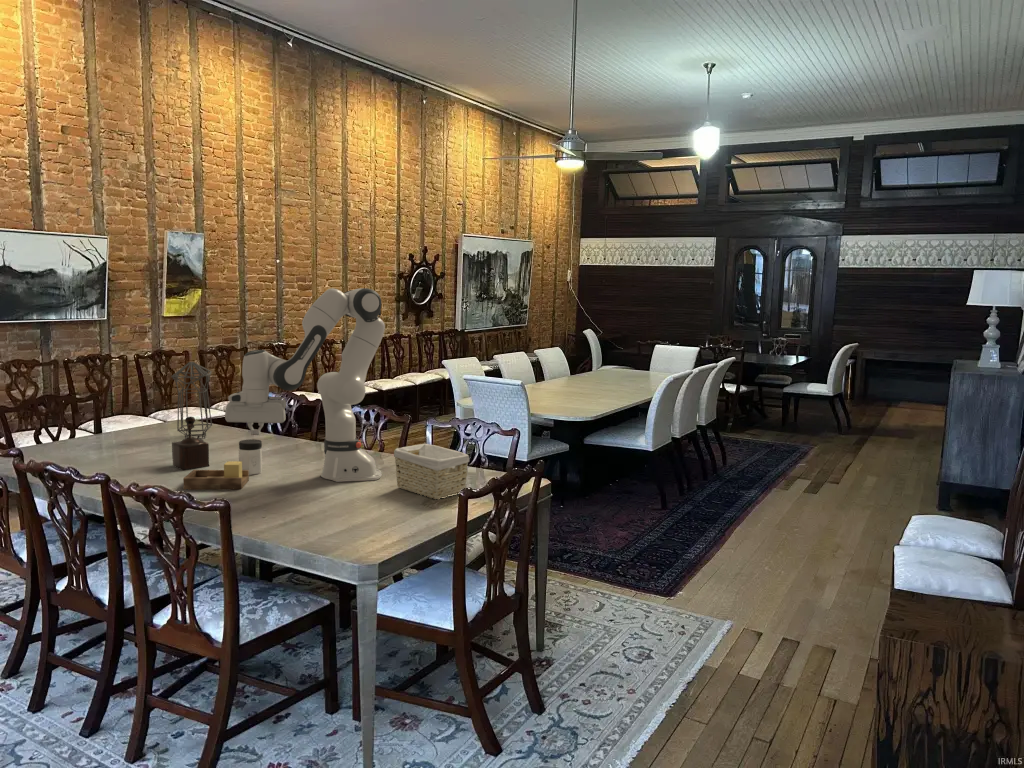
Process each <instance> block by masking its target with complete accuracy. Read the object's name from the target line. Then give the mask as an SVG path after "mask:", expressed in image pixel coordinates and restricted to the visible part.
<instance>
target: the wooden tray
mask: <svg viewBox="0 0 1024 768" xmlns="http://www.w3.org/2000/svg"><path fill="white" fill-rule="evenodd" d="M249 477H250V475H249V470H242V478H224V469H192V471H190V472H189V473H188V474H187V475H186V476H184V477H183V480H182V481H183V490H186V489H188V490H196V491H197V490H199V491H201V490H203V491H205V490H209V491H211V490H212V491H214V490H217V491H218V490H220V491H221V490H226V491H227V490H228V491H229V490H232V491H233V490H234V491H235V490H236V491H238V490H243V488H244V487H245V486H246V484H247V483H248V482H249V480H250V478H249Z"/></svg>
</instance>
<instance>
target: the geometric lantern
mask: <svg viewBox="0 0 1024 768" xmlns="http://www.w3.org/2000/svg"><path fill="white" fill-rule="evenodd" d="M186 368H187V370H186V371H184V370H185V369H186ZM194 368H195V369H196V371H197V372H194ZM189 370H190V372H189ZM212 371H213V370H209V369H208V368H206V367H204V366H202V365H199V364H198V363H196V362H195V361H188V362H187V363H186V364H184V365H183V366H182V367H181V368H180V369H179V370H178V371H176V372H174V373H173V374H172V375H171V376H170V377H171V378H172V379H173V380H174V382H175V385H176V390H177V423H176V424H177V425H176V426H177V432H179V433H181V434H183V435H184V439H185V438H188V437H189V431H183V429H186V428H187V427H188V424H187V423H186V424H184V394H185V407H186V408H185V409H186V410H185V412H186V413H185V414H186V418H187V417H189V416H188V414H189V413H188V394H198V398H199V407H200V408H199V409H200V419H201V423H198V424H193V425H194V427H195V426H201V429H191V436H192V437H194V436H195V437H196V436H197V437H198V436H199V438H198V439H201V440H204V439H206V438H207V432H208V430H210V428H212V426H213V420H212V415H211V407H210V406H211V405H210V399H209V398H210V397H209V391H208V389H209V383H210V380H211V375H212V373H213V372H212ZM180 374H181V376H180ZM197 374H198V375H197ZM183 375H184V376H183ZM195 375H196V376H195ZM204 377H205V384H204V383H203V382H202V381H201V379H202V378H204ZM180 378H182V379H183V381H182V380H181V379H180ZM186 379H190V381H189V382H186ZM197 381H199V382H200V384H201V385H202V387H203V388H202V387H201V388H200V389H199V388H198V387H197V386H196V384H195V382H197ZM180 382H181V383H183V385H182V384H181V383H180ZM178 383H179V385H180V387H181V389H180V390H179V385H178ZM191 384H192V385H193V386H194V387H195V388H189V386H190V385H191ZM186 385H187V387H186V388H185V386H186ZM190 390H193V391H192V392H191V391H190ZM194 390H197V391H196V392H194ZM200 390H202V391H200ZM184 391H185V392H184ZM188 391H189V392H188ZM201 394H202V397H203V404H204V406H203V407H204V414H205V422H206V423H204V419H203V411H202V410H203V409H202V399H201ZM208 414H209V417H208ZM208 418H209V419H208ZM209 420H210V423H209ZM179 421H180V423H179ZM179 424H180V425H179ZM179 426H180V427H179ZM204 426H205V427H204ZM185 427H186V428H185ZM193 432H194V433H195V432H197V433H195V434H194V433H193ZM198 432H202V433H198ZM200 436H201V437H200Z"/></svg>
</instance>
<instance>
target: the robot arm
mask: <svg viewBox="0 0 1024 768" xmlns="http://www.w3.org/2000/svg"><path fill="white" fill-rule="evenodd" d="M382 303H383V302H382V298H381V295H380V294H379V293H378V292H377V291H375V290H374V289H371V288H367V287H365V288H361V287H360V288H355V289H350V290H346V291H344V292H343V291H341V290H340V289H337V288H333V287H332V288H328V289H326V290H325V291H324V292H323V293H322V294H321V295H320V296H319V297H317V299H316V300H315V301H314V302H313V303H312V305H311V306H310V307H309V308H308V310H306V313H305V315H304V317H303V319H302V323H301V325H302V330H303V331H304V338H303V340H302V342H301V343H300V344H299V345H298V348H297V349H296V351H295V352H294V354H293V355H292V356H291V357H290V358H289V359H288V360H286V359H283V358H280V357H278V356H275V355H273V354H271V353H269V352H268V351H267V350H265V349H255V350H251V351H247V352H246V353H245V354H244V356H243V358H242V359H243V360H242V370H241V372H242V374H241V376H242V379H243V382H242V389H241V391H237V392H235V393H232V394H230V395H228V397H227V398H228V402H227V404H226V407H225V411H224V413H225V414H224V419H225V421H226V422H227V423H247V427H248V428H249V430H250V435H251V436H260V435H261V430H262V429H263V427H264V424H269V423H270V424H283V423H284V422H285V421H286V417H287V416H286V410H285V409H286V407H287V400H286V399H285V398H284V397H282V396H272V395H271V396H270V392H269V391H270V386H271V385H274V386H277V387H278V388H280V389H282V390H284V391H287V392H289V391H294V390H297V389H298V388H300V387H301V386H302V385H303V383H304V381H305V379H306V378H305V377H306V375H307V370H308V368H309V366H310V365H311V364H312V361H313V360H314V359H315V357H316V355H317V354H318V353H319V350H320V349H321V347H322V346H323V344H324V342H325V341H326V339H327V337H328V336H329V334H331V332H332V331H333V330H334V328H335V327H336V325H338V323H339V321H340V320H341V318H343V317H344V316H346V317H349V318H353V319H354V318H355V327H354V330H353V331H352V333H351V335H350V337H349V339H348V341H347V342H346V345H345V347H344V348H343V350H342V353H341V364H340V368H339V371H330V372H326V373H323V374H322V375H321V376H320V377H319V379H318V380H317V384H316V385H317V390H318V393H319V394H320V397H321V403H322V407H323V408H322V409H323V412H324V418H325V439H324V442H323V453H324V460H323V467H322V472H321V475H320V476H321V478H322V479H326V480H330V481H334V482H337V483H338V482H339V483H341V482H359V481H360V482H361V481H365V482H366V481H376V480H379V479H380V478H381V477H382V475H383V474H382V471H381V470H380V469H378V468H377V466H376V461H375V458H374V457H373V456H371V455H370V454H369V453H367V452H366V451H365V450H364V449H362V442H361V439H358V438H357V435H356V434H357V433H356V431H357V429H356V425H357V423H356V422H357V421H356V416H355V414H354V412H353V409H352V406H353V405H358V404H359V403H361V402H362V401H363V400H364V398H365V396H366V387H365V384H366V383H365V382H366V378H367V375H368V370H369V367H370V365H371V363H372V361H373V359H374V358H375V355H376V353H377V351H378V348H379V346H380V344H381V342H382V339H383V337H384V334H385V330H386V324H385V322H384V321H383V319H381V315H382V313H381V312H382V310H381V309H382ZM254 423H256V424H257V423H258V426H259V427H258V429H256V428H254V427H253V425H254Z"/></svg>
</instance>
